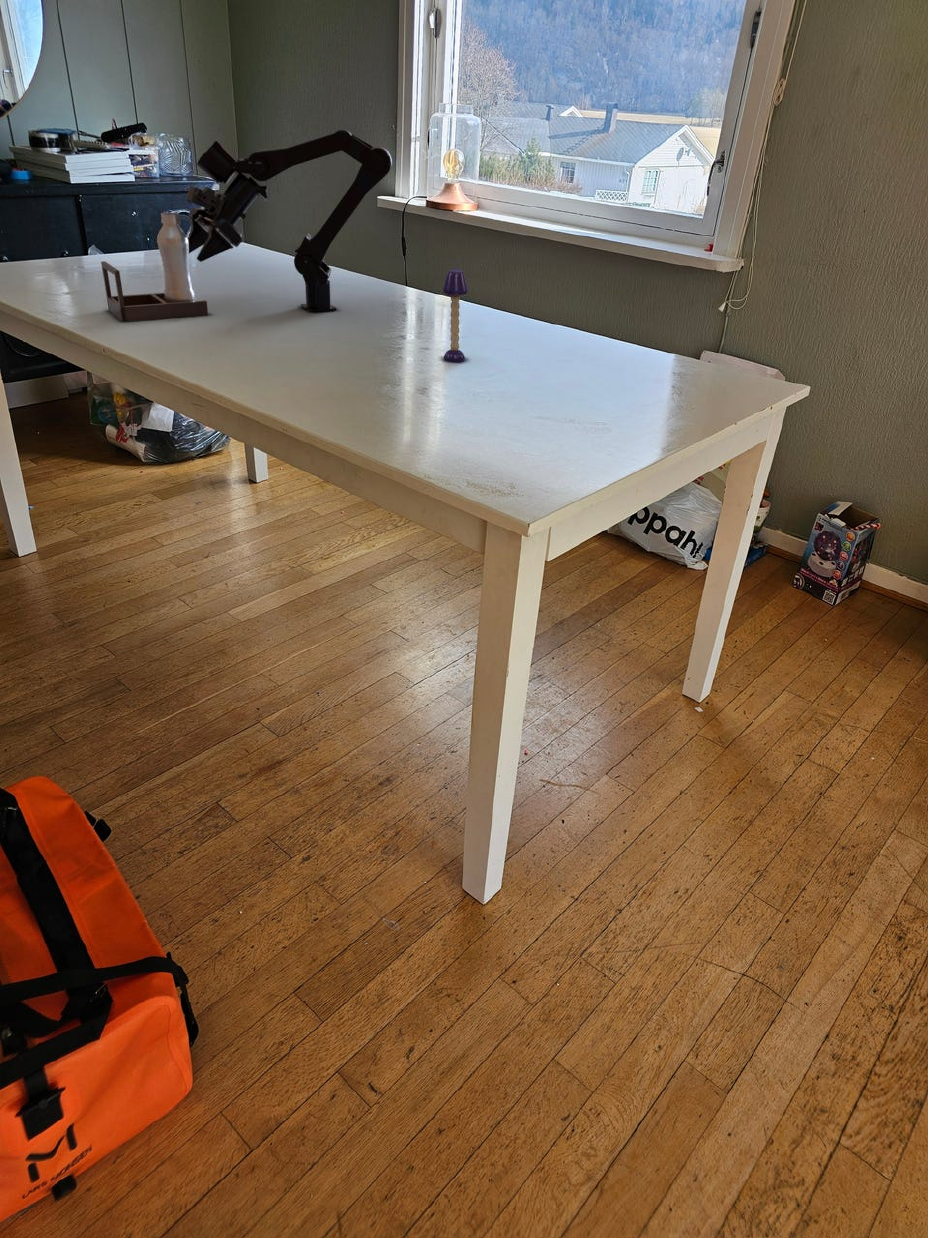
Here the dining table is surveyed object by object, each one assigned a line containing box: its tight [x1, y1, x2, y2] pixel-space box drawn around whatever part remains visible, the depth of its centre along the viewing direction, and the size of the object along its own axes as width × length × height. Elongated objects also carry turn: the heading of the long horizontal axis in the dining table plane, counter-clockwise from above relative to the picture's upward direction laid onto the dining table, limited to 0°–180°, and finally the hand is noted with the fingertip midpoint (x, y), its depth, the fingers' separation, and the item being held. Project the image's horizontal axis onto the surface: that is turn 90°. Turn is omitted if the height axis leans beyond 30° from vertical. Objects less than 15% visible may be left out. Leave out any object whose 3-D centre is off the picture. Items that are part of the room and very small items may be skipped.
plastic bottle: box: [156, 212, 197, 303], centre depth 186 cm, size 6×7×20 cm
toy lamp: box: [442, 269, 468, 363], centre depth 166 cm, size 5×5×17 cm
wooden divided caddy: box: [100, 260, 209, 323], centre depth 187 cm, size 11×19×10 cm, turn 124°
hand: (191, 256), depth 188 cm, fingers open, 9 cm apart
